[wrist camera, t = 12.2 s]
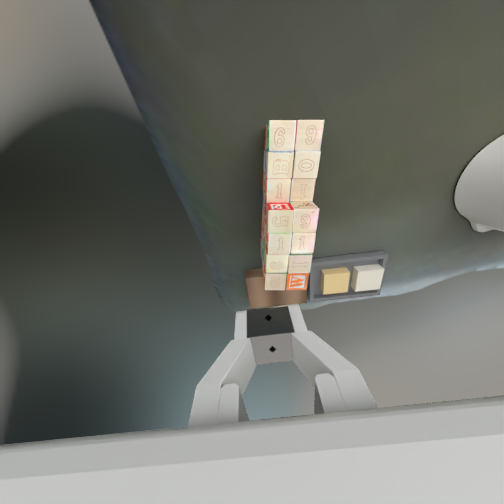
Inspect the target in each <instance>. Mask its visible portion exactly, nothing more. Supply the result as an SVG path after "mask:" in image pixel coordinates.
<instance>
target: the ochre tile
mask: <svg viewBox="0 0 504 504" xmlns="http://www.w3.org/2000/svg"><path fill="white" fill-rule="evenodd" d="M349 277H350V272H349V270H348V269H347V268H346V267H340V268H331V269H322V270H321V285H320V289H321V291H322V293H323V295H324V294H334V293H344V292H348V285H349Z"/></svg>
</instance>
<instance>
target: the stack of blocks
mask: <svg viewBox="0 0 504 504" xmlns="http://www.w3.org/2000/svg"><path fill="white" fill-rule="evenodd" d="M323 128H324V120H269V122H268V123H267V125H266V127H265V150H264V171H263V211H262V227H261V248H260V252H261V259H262V270H263V278H264V289H265V290H285V289H286V290H306V289H307V283H308V277H309V273H310V269H311V262H312V253H313V251H314V244H315V238H316V229H317V222H318V215H319V208H318V207H317V206H316V205H315V204H314V203H313V195H314V189H315V182H316V178H317V173H318V167H319V160H320V154H321V151H320V147H321V141H322V134H323Z"/></svg>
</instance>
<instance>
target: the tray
mask: <svg viewBox="0 0 504 504" xmlns="http://www.w3.org/2000/svg"><path fill="white" fill-rule="evenodd" d="M388 257H389V254H387V253H386V252H385V251H384V250H382V251H373V252H364V253H355V254H346V255H338V256H329V257H320V258H312V262H311V269H310V273H309V277H308V299H309V301H310V302H314V301H324V300H333V299H343V298H353V297H363V296H372V295H380V291H381V287H382V283H383V278H384V274H385V270H386V265H387V261H388ZM372 264H379V265H380V266H382V267H383V268H384V273H383V278H382V282H381V286H380V289H377V290H367V291H357V292H355V291H354V289H353V288H352V287H351V281H352V275H353V268H354V266H362V265H372ZM340 267H346V268H347V269H348V270H349V272H350V277H349V285H348V292H344V293H334V294H324V295H323V293H322V291H321V289H320V285H321V270H322V269H331V268H340Z"/></svg>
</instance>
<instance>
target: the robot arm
mask: <svg viewBox="0 0 504 504" xmlns="http://www.w3.org/2000/svg"><path fill="white" fill-rule="evenodd" d="M455 205H456V208H457V210H458V212H459V213H460V214H461V215H462V216H464V217H465V218H467V219H468V220H469V221H470V223H471V226H472V228H473V230H475V231H478V232H486V231H490V230H494V229H496V230H499V231H503V232H504V134H503V135H502V136H500V137H499V138H497V139H496V140H494V141H493V142H491V143H490V144H489V145H487V146H486V147H485V148H484V149H483V150H481V151H480V152H479V153H478V154H477V155H476V156H475V157H474V158H473V160H472V161H471V162H470V163H469V164H468V166H467V167H466V169H465V170H464V172H463V173H462V175H461V177H460V179H459V181H458V184H457V187H456V190H455ZM285 361H293V362H294V363H295V364H296V365H297V367H298V368H299V369H300V370H301V372H302V373H303V374H304V375H305V376H306V378H307V379H308V380H309V381H310V382H311V383H312V385H313V386H314V387H315V401H314V413H315V414H312V415H301V416H291V417H281V418H272V419H260V420H252V421H251V420H250V421H249V418H248V414H247V411H246V408H245V404H244V401H243V398H242V395H243V393H244V391H245V389H246V387H247V385H248V383H249V380H250V378H251V376H252V374H253V372H254V370H255V368H256V365H259V364H266V363H272V362H285ZM0 504H504V396H494V397H484V398H474V399H464V400H455V401H443V402H433V403H423V404H413V405H404V406H393V407H383V408H378V407H377V405H376V403H375V401H374V399H373V397H372V395H371V393H370V391H369V389H368V387H367V385H366V383H365V381H364V379H363V377H362V375H361V373H360V371H359V369H358V368H356V367H355V366H354V365H353V364H352V363H350V362H349V361H348V360H347V359H345V358H344V357H343V356H342V355H340V354H339V353H338V352H337V351H335V350H334V349H333V348H332V347H330V346H329V345H328V344H327V343H325V342H324V341H323V340H322V339H320V338H319V337H318V336H317V335H316V334H314V333H313V332H312V331H307V328H306V325H305V322H304V319H303V316H302V313H301V310H300V307H299V305H298V304H291V305H284V306H277V307H269V308H261V309H251V310H244V311H237V312H236V319H235V336H234V340H231V341H230V342H229V344H228V345H227V346H226V348H225V349H224V350H223V352H222V353H221V354H220V356H219V357H218V358H217V360H216V361H215V362H214V364H213V365H212V366H211V368H210V369H209V370H208V372H207V373H206V374H205V376H204V377H203V378H202V380H201V381H200V382H199V384H198V385H197V387H196V391H195V396H194V401H193V405H192V410H191V415H190V420H189V424H188V427H180V428H170V429H160V430H150V431H139V432H130V433H120V434H109V435H99V436H89V437H79V438H69V439H59V440H49V441H38V442H29V443H18V444H9V445H0Z"/></svg>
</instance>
